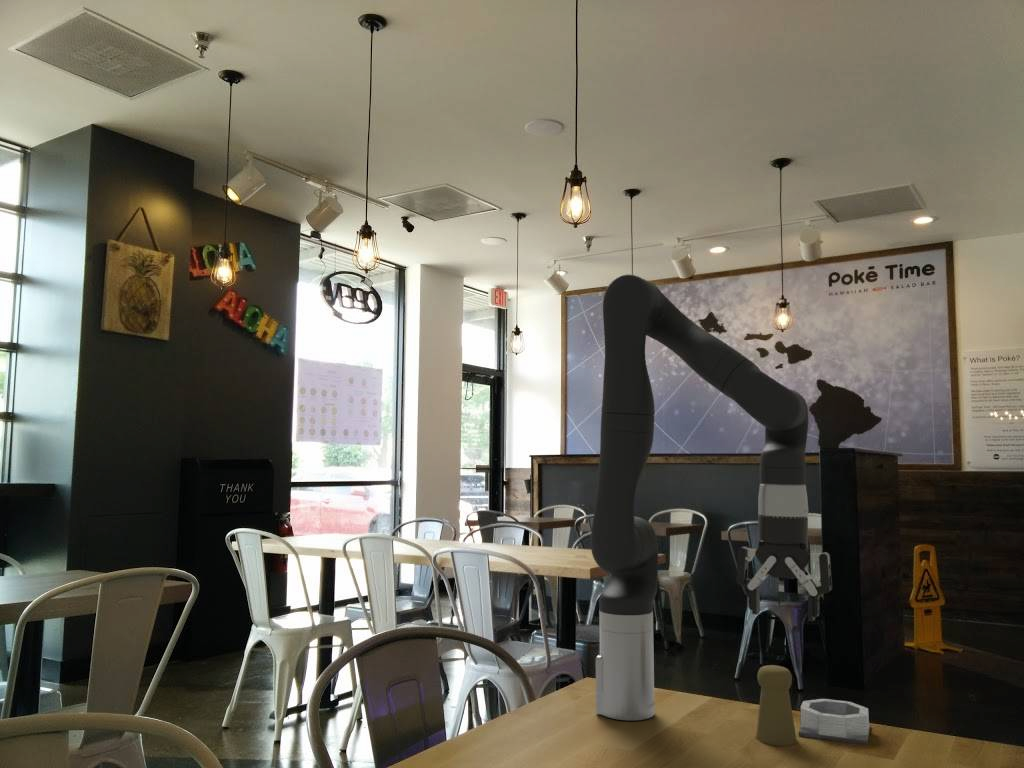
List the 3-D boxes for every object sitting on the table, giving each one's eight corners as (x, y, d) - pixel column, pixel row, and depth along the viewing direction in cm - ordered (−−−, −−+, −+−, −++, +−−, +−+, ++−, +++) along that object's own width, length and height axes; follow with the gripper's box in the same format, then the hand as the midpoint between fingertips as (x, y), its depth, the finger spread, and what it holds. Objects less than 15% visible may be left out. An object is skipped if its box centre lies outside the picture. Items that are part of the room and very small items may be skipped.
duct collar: (798, 736, 133) (798, 712, 134) (805, 718, 142) (804, 696, 143) (867, 745, 129) (866, 720, 129) (870, 726, 138) (869, 703, 138)
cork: (799, 746, 128) (797, 672, 129) (757, 744, 129) (755, 670, 130) (794, 734, 134) (792, 663, 135) (754, 731, 135) (752, 661, 136)
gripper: (731, 511, 135) (732, 615, 134) (825, 516, 128) (827, 626, 127) (743, 509, 142) (744, 608, 140) (834, 514, 134) (835, 618, 133)
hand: (783, 616), depth 133 cm, fingers open, 8 cm apart
